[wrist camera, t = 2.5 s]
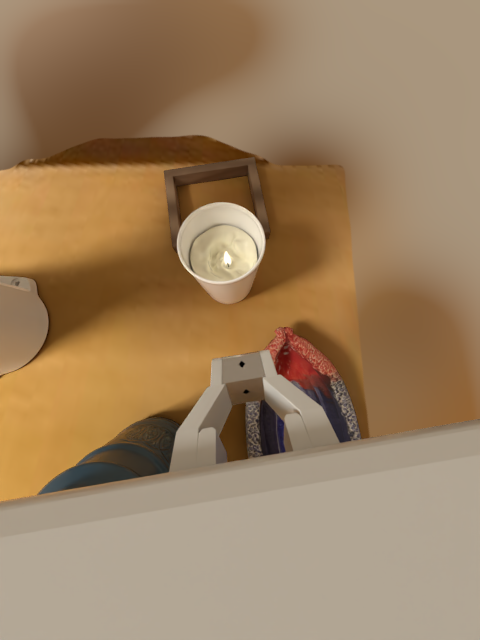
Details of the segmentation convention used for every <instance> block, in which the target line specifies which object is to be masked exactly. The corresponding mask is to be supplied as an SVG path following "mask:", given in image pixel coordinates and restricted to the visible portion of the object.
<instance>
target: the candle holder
mask: <svg viewBox="0 0 480 640" xmlns="http://www.w3.org/2000/svg"><path fill="white" fill-rule="evenodd" d="M265 244H266V241H265V234H264V230H263V228H262V225H261V223H260V222H259V220H258V219H257V218H256V217H255V215H254V214H252V213H251V212H250V211H249V210H247V209H246V208H244V207H242V206H239V205H237V204H233V203H228V202H217V203H211V204H207V205H205V206H202V207H200V208H198V209H197V210H195V211H194V212H192V213H191V214H190V215H189V216H188V217H187V218H186V219H185V221H184V222H183V224H182V226H181V228H180V230H179V233H178V237H177V251H178V255H179V258H180V260H181V262H182V264H183V266H184V267H185V268H186V270H187V271H188V272H189V273H190V274H191V275H192V276H193V277H194V278H195V279H196V280H197V281H198V283H199V284H200V285H201V286H202V287H203V288H204V290H205V291H206V292H207V293H208V294H209V295H210V296H211V297H212V298H213V299H214V300H216V301H217V302H220V303H223V304H234V303H237V302H239V301H241V300H243V299H244V298H245V297H246V296H247V295H248V294H249V292H250V290H251V288H252V285H253V282H254V279H255V276H256V273H257V271H258V268H259V265H260V262H261V260H262V258H263V255H264V251H265Z"/></svg>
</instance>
